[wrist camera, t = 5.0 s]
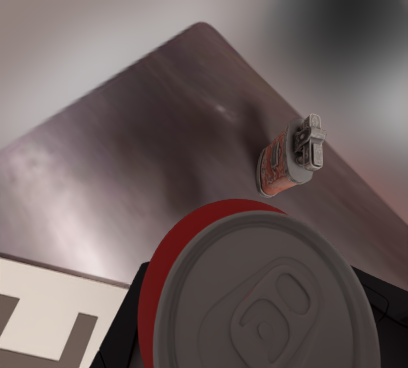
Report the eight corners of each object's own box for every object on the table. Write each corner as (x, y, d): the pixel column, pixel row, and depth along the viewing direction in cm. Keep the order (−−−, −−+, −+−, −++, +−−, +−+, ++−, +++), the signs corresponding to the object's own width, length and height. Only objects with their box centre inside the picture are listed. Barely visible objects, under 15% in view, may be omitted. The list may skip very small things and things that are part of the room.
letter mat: (66, 508, 14) (62, 518, 13) (-141, 472, 13) (-153, 481, 12) (138, 291, 19) (137, 292, 18) (-8, 255, 18) (-13, 255, 18)
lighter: (258, 147, 27) (302, 98, 17) (278, 151, 27) (332, 106, 17) (254, 194, 24) (302, 168, 15) (276, 199, 24) (337, 177, 15)
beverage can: (150, 255, 15) (45, 320, 3) (208, 207, 17) (266, 143, 5) (199, 323, 14) (291, 751, 2) (254, 263, 16) (451, 333, 4)
